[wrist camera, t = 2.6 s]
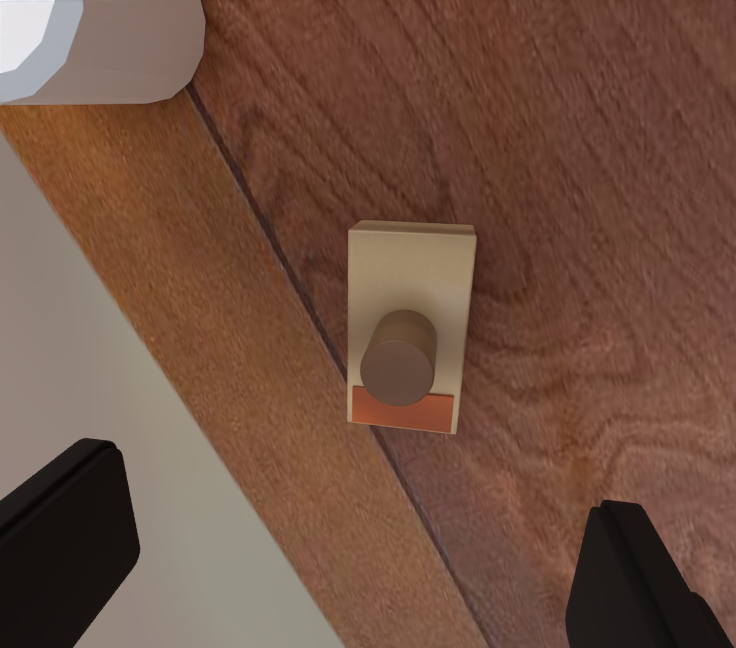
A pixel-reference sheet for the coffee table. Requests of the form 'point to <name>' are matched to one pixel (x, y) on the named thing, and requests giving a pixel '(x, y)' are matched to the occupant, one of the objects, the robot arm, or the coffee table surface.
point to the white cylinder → (98, 50)
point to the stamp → (408, 322)
